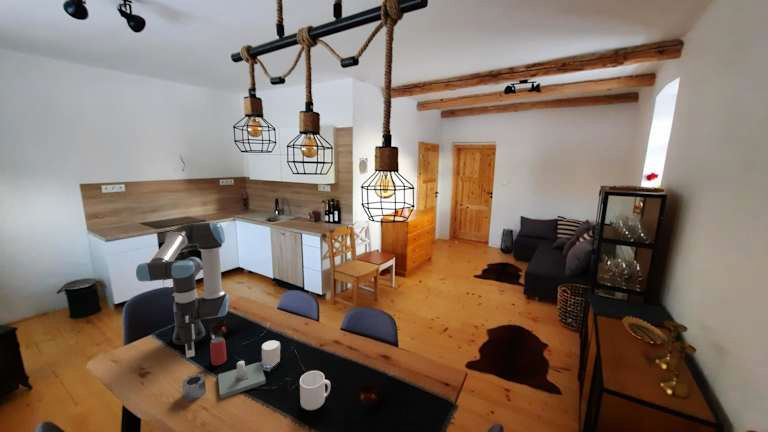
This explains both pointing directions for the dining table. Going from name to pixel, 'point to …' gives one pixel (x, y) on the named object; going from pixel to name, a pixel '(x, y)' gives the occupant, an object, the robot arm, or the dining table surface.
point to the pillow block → (241, 379)
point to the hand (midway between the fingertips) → (190, 347)
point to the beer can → (218, 351)
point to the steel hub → (194, 387)
